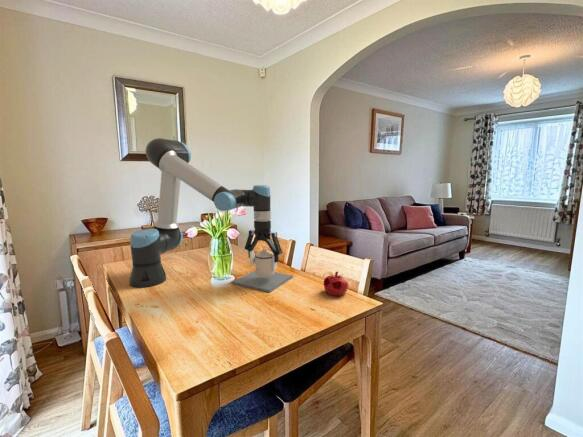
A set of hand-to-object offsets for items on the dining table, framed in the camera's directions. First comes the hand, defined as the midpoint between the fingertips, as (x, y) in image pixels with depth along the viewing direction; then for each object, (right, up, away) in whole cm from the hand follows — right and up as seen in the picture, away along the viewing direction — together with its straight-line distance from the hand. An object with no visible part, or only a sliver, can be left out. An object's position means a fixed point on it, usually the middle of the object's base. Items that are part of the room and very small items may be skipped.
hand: (263, 266), depth 135 cm
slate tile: (0, -6, +1) cm, 7 cm away
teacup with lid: (0, -3, 0) cm, 3 cm away
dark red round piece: (+31, -9, -13) cm, 35 cm away
